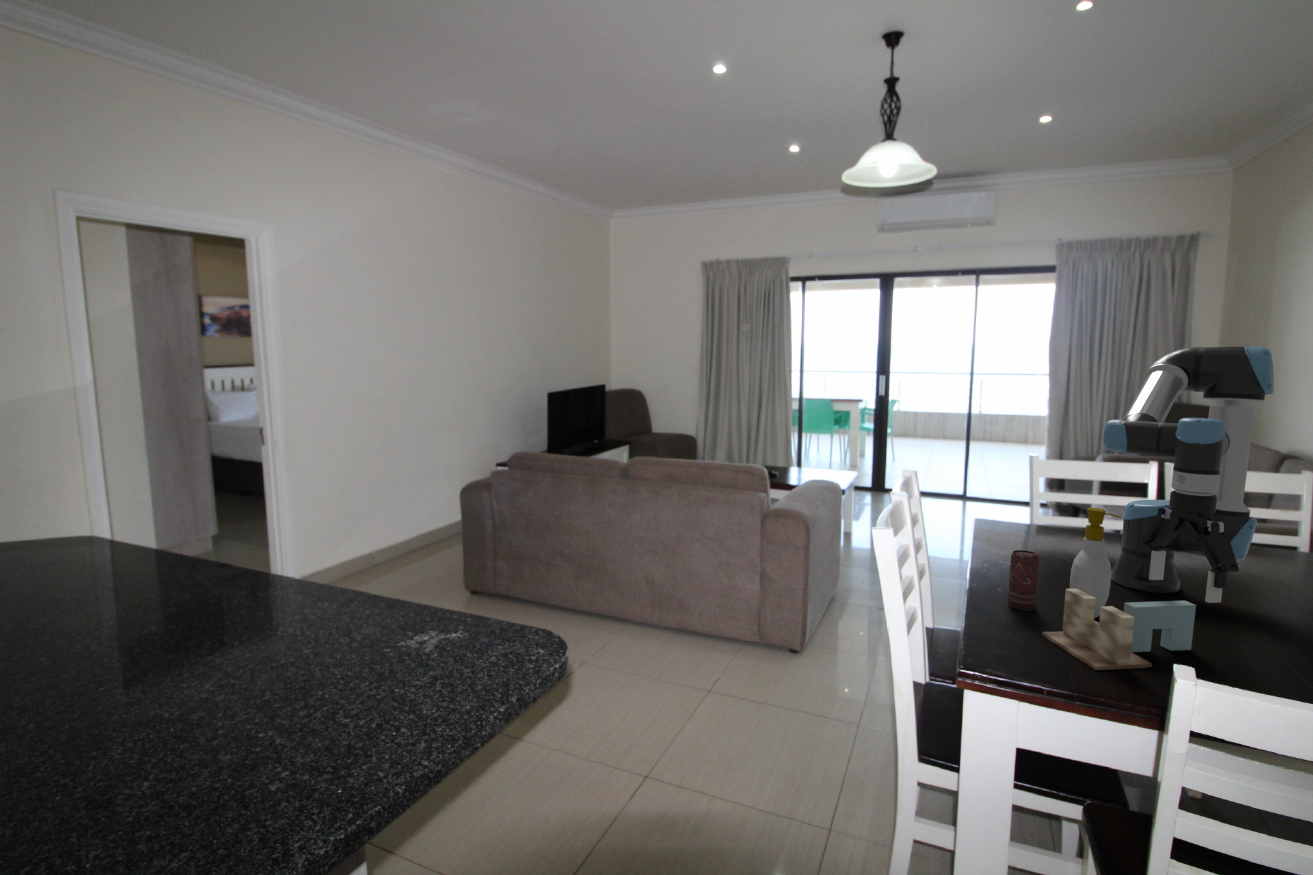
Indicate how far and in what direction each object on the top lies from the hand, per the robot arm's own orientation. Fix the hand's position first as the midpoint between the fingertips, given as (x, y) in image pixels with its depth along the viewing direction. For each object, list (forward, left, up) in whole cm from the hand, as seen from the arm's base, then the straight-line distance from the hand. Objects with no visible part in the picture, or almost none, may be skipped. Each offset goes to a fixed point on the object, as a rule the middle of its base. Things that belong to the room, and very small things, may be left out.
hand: (1183, 590), depth 137 cm
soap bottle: (+5, -19, -13) cm, 24 cm away
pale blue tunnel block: (+5, 0, -13) cm, 14 cm away
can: (+19, -24, -13) cm, 33 cm away
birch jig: (+19, 0, -13) cm, 23 cm away
